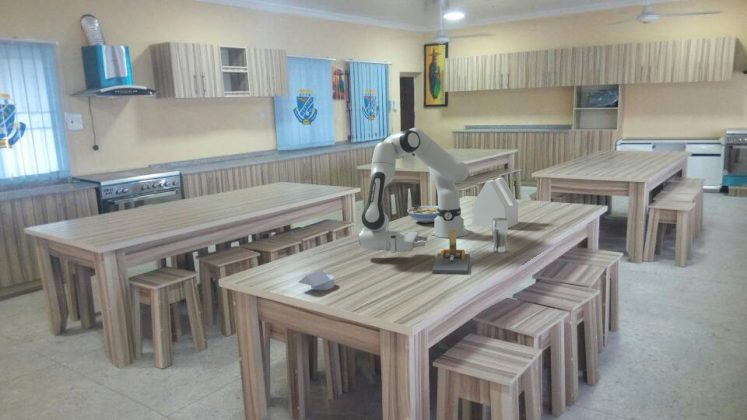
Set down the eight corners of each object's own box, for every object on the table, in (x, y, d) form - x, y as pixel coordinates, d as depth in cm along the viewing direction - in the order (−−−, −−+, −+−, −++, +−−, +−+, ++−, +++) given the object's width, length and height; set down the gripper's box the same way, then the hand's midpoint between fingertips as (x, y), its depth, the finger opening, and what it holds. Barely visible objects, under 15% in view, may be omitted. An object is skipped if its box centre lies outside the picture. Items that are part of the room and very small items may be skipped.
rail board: (437, 256, 243) (437, 249, 243) (469, 257, 240) (469, 249, 239) (432, 273, 220) (431, 264, 220) (467, 274, 217) (467, 265, 217)
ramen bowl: (445, 227, 299) (445, 212, 297) (404, 227, 303) (403, 212, 302) (448, 217, 323) (448, 203, 321) (410, 217, 327) (409, 204, 326)
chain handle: (446, 254, 240) (446, 229, 238) (460, 254, 239) (459, 229, 237) (444, 261, 229) (443, 236, 227) (458, 261, 228) (458, 236, 226)
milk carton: (517, 224, 299) (518, 178, 294) (504, 229, 287) (504, 182, 282) (486, 220, 311) (486, 176, 306) (472, 225, 299) (472, 180, 295)
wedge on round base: (315, 295, 201) (339, 285, 211) (314, 277, 200) (338, 268, 210) (298, 290, 207) (322, 281, 217) (297, 273, 205) (321, 264, 215)
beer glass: (496, 254, 243) (496, 221, 240) (489, 250, 249) (489, 218, 246) (510, 252, 245) (510, 219, 242) (503, 248, 251) (503, 216, 248)
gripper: (399, 241, 252) (428, 242, 249) (391, 254, 233) (423, 254, 230) (398, 228, 251) (428, 228, 248) (390, 239, 231) (423, 240, 228)
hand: (426, 241), depth 239 cm, fingers open, 8 cm apart
